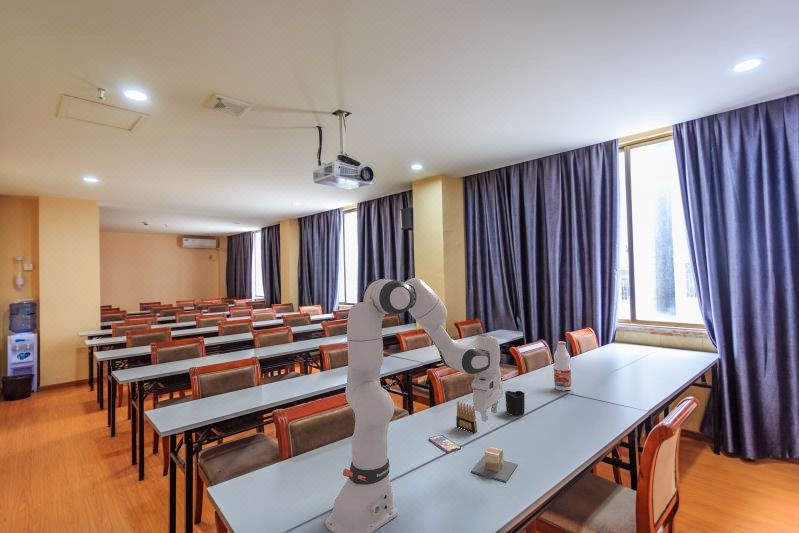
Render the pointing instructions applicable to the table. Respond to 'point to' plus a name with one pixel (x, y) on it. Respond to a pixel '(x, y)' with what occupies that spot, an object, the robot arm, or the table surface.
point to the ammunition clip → (466, 417)
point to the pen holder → (515, 402)
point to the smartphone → (444, 443)
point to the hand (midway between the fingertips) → (489, 416)
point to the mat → (501, 475)
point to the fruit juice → (562, 367)
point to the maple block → (494, 459)
